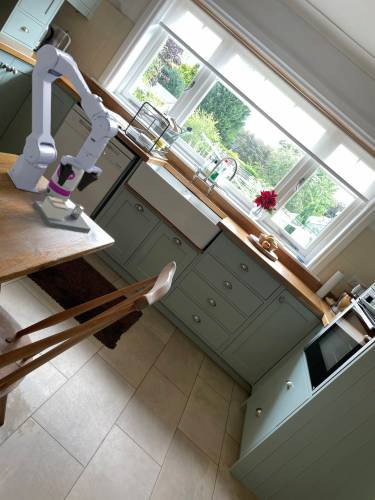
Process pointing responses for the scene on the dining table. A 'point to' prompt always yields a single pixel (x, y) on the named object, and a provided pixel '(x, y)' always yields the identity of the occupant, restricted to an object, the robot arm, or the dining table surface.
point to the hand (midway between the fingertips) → (69, 187)
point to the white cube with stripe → (55, 207)
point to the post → (77, 212)
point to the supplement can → (68, 187)
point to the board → (62, 220)
